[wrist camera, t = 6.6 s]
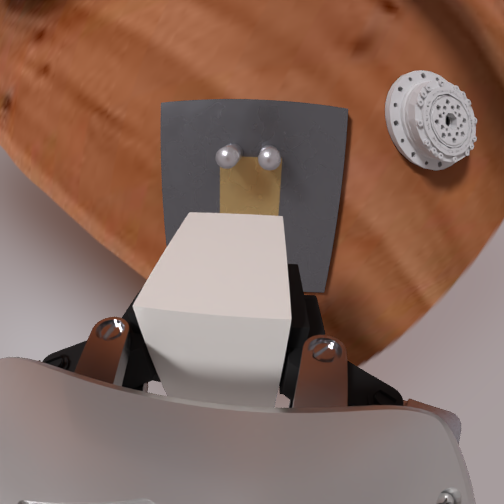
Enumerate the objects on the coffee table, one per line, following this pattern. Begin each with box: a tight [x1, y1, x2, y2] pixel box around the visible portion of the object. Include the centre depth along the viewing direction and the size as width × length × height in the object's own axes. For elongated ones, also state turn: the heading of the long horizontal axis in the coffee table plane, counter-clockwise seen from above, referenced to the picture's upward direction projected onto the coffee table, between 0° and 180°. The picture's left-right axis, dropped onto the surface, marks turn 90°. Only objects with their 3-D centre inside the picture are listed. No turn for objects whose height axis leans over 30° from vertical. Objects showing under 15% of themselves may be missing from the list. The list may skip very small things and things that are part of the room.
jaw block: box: [133, 212, 292, 408], centre depth 11 cm, size 6×4×6 cm, turn 178°
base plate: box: [161, 99, 348, 292], centre depth 23 cm, size 18×16×5 cm
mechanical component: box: [385, 70, 477, 171], centre depth 18 cm, size 10×4×10 cm
